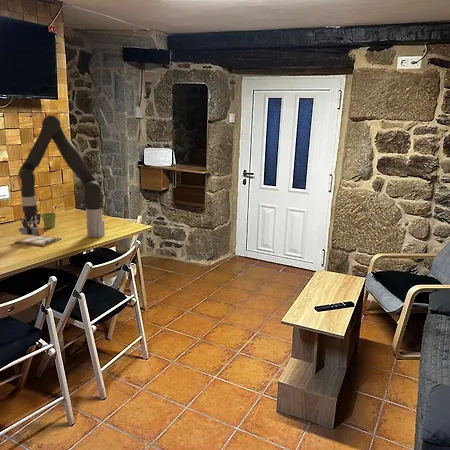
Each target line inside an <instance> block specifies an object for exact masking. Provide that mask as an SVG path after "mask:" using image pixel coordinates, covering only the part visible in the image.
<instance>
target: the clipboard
mask: <svg viewBox="0 0 450 450" xmlns="http://www.w3.org/2000/svg"><path fill="white" fill-rule="evenodd" d="M61 240H62V238H60V237H54V236H53V237H51V236H44V235H41V236H32V235H28V236H27V237H24V238H21V239H18V240H16V241H14V244H19V245H21V244H22V245H26V246H27V245H28V246H34V247H47V246H49V245H51V244H53V243H56V242H59V241H61Z"/></svg>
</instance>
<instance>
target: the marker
mask: <svg viewBox="0 0 450 450" xmlns="http://www.w3.org/2000/svg"><path fill="white" fill-rule="evenodd" d="M18 231H19V232H21V233H20V234H21V235H25V236H29V235H28V233H27V228H24V227H23V226H21V227H20V228H18ZM31 232H32V234H31V235H30V236H44V234H45V233H44V232H45V231H44V227H42V226H37V227H33V225H31Z"/></svg>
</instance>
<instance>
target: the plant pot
mask: <svg viewBox="0 0 450 450" xmlns="http://www.w3.org/2000/svg"><path fill="white" fill-rule="evenodd" d="M40 214H41V218H42V222H43V225H44V226H43V227H44V229H54V228H55V227H56V217H57V213H55V212H46V213H40Z"/></svg>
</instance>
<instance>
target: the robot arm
mask: <svg viewBox="0 0 450 450" xmlns="http://www.w3.org/2000/svg"><path fill="white" fill-rule="evenodd" d="M41 123H42V124H41V125H42V126H41V129H40V133H39V135H38V137H37V139H36V140H35V142H34V143H33V146H32V147H31V149H30V151H29V153H28V155H27V157H26V160H25V161H24V162H23V164H22V165H21V166H20V168H19V170H18V173H17V175H18V178H19V179H20V181H21V188H20V193H21V206H22V207H21V208H22V213H23V214H24V216H23V218H20V222H21V224H22V227H24V228H27V233H28V235H27V236H32V235H31V234H32V232H31V226H32V227H39V226H38V225H40V224H41V218H42V216H41V214H42V213H37V212H38V202H37V198H36V197H37V196H36V188H35V185H36V184H35V183H36V178H35V177H36V176H35V173H34V171H35V170H36V169H37V167H39V166H40V164H41V162H42V161H43V158H44V156H45V153H46V151H47V149H48V146H49V145H50V142H51V141H53V143H54V144H55V145H56V147H57V150H58V152H59V153H60V156H62V158H63V161H64V162H65V163H66V164H67V166H68V167H69V168H70V170H71V171H72V172H73V173H74V174H75V175H76V177H78V179H79V180H80V182H81V184H82V186H83V195H84V196H83V197H84V205H85V216H86V217H85V219H86V234H87V237H88V238H91V239H92V238H94V239H95V238H101V237H103V236H105V234H106V232H105V220H104V219H103V207H102V206H103V205H102V194H101V190H102V188H101V185H100V183H99V182H98V181H97V179H96V178H95V176H94V175H93V174H92V173H91V172H90V170H89V168H88V165H87V164H86V162H85V160H84V158H83V156H82V154H81V153H80V152H79V151H78V149H77V148H76V146H75V145H74V144H73V143H72V142H71V140H70V139H69V137H67V136H66V134H65V133H64V131H63V129H62V126H61V121H60V119H59V118H58V117H57V116H55V115H48V116H45V117H44V118H43V120H42V122H41Z"/></svg>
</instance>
